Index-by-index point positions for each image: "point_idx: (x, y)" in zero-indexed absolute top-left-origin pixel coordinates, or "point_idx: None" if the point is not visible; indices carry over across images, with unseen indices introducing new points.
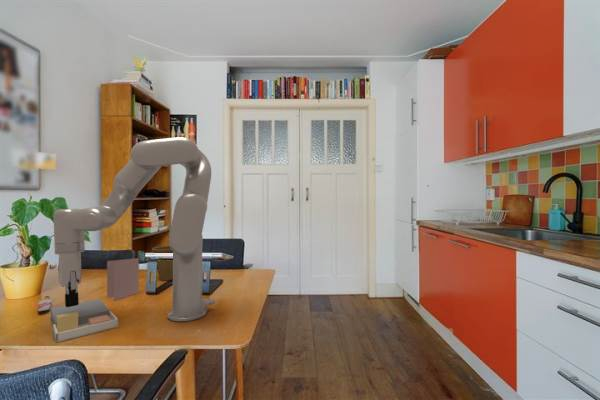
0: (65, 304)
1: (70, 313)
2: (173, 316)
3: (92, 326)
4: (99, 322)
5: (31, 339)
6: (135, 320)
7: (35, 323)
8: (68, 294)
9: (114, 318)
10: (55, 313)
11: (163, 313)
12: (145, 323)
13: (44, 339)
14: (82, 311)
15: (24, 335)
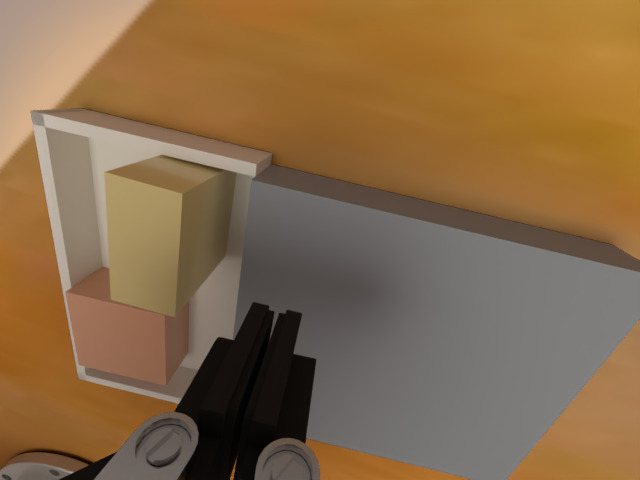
0: (281, 319)
1: (151, 272)
2: (38, 470)
3: (68, 284)
4: (75, 321)
5: (257, 21)
6: (143, 409)
7: (592, 138)
8: (161, 427)
9: (114, 378)
10: (477, 251)
11: None
12: (82, 408)
13: (191, 81)
14: (336, 353)
15: (388, 6)
